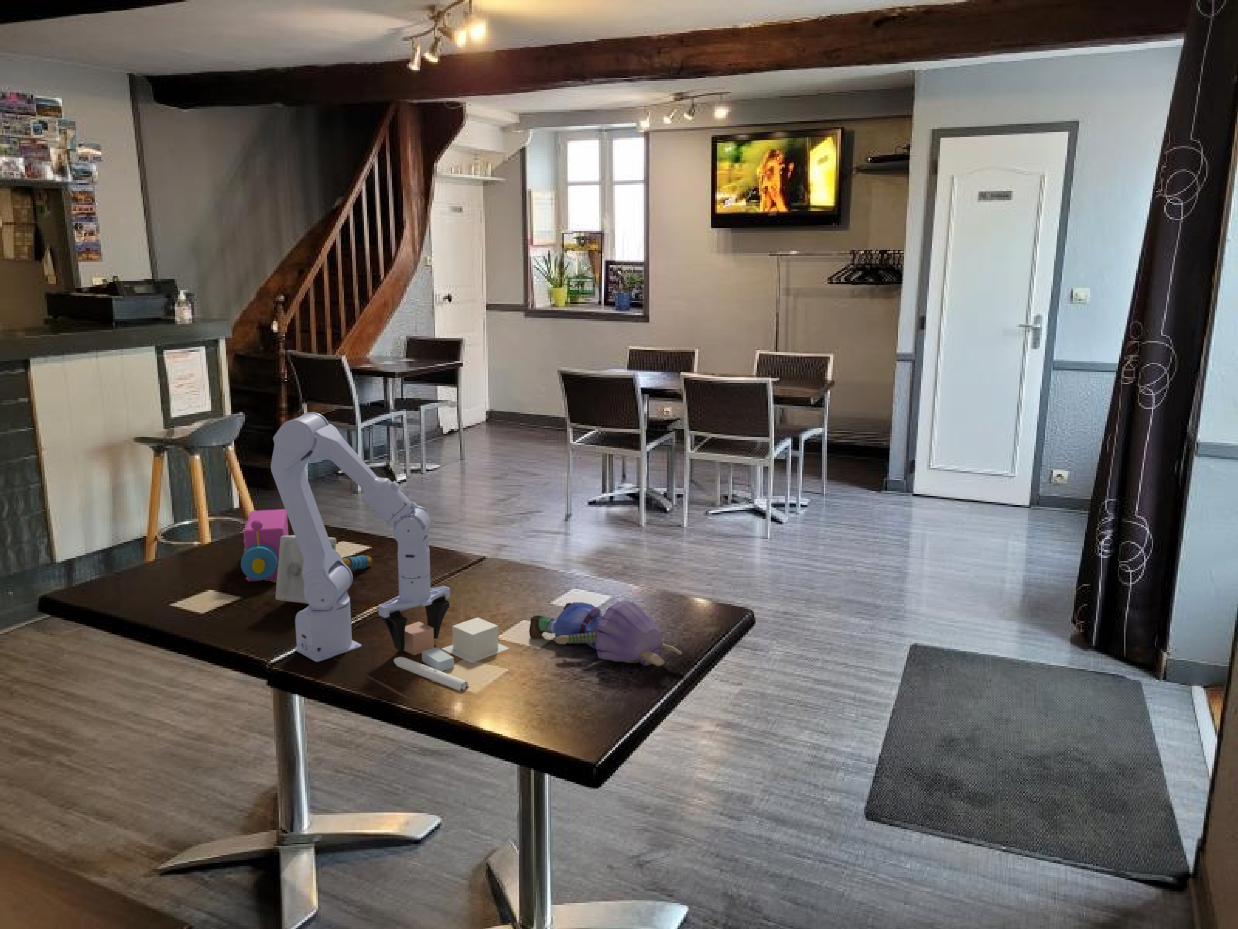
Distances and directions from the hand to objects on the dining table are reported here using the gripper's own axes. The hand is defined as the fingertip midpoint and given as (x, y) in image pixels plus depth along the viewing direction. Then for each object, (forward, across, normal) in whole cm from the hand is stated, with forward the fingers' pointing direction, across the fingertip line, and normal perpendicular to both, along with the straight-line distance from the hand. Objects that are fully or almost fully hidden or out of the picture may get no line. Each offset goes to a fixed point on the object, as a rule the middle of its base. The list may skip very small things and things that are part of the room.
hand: (416, 643), depth 171 cm
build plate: (+1, +8, -8) cm, 11 cm away
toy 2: (+2, +24, -26) cm, 36 cm away
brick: (+2, -2, -8) cm, 9 cm away
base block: (+1, +8, -8) cm, 11 cm away
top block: (+2, 0, 0) cm, 2 cm away
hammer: (+2, +8, +42) cm, 43 cm away
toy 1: (+2, +3, +64) cm, 64 cm away
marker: (+2, -5, -11) cm, 12 cm away
